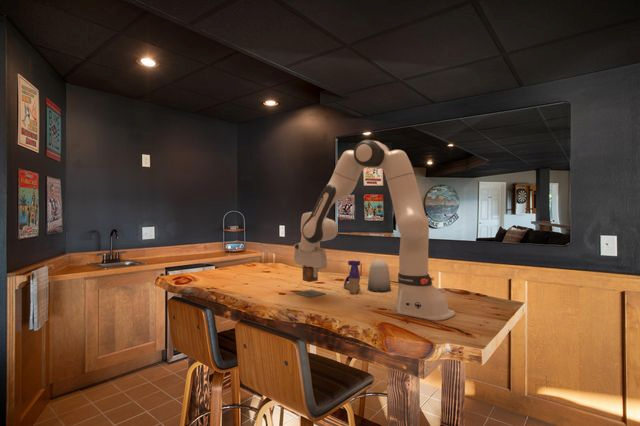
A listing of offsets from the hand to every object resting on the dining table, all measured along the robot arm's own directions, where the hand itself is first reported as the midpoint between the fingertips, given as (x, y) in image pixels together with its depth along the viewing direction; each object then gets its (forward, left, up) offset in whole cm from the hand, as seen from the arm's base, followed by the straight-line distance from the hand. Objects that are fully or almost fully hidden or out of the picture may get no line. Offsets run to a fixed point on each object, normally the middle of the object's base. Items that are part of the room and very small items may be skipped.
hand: (310, 276), depth 168 cm
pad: (0, 0, -9) cm, 9 cm away
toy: (-15, -31, -9) cm, 36 cm away
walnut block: (0, 0, -2) cm, 2 cm away
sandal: (-6, -21, -9) cm, 24 cm away
